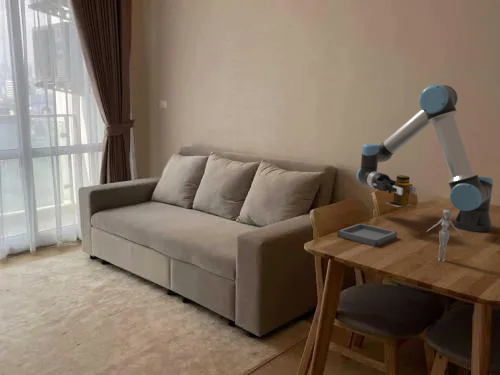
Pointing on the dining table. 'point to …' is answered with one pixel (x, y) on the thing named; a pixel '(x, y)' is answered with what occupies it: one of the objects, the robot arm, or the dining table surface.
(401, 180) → the condiment
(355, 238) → the holder
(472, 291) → the dining table surface
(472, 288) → the dining table surface
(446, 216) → the human figurine
